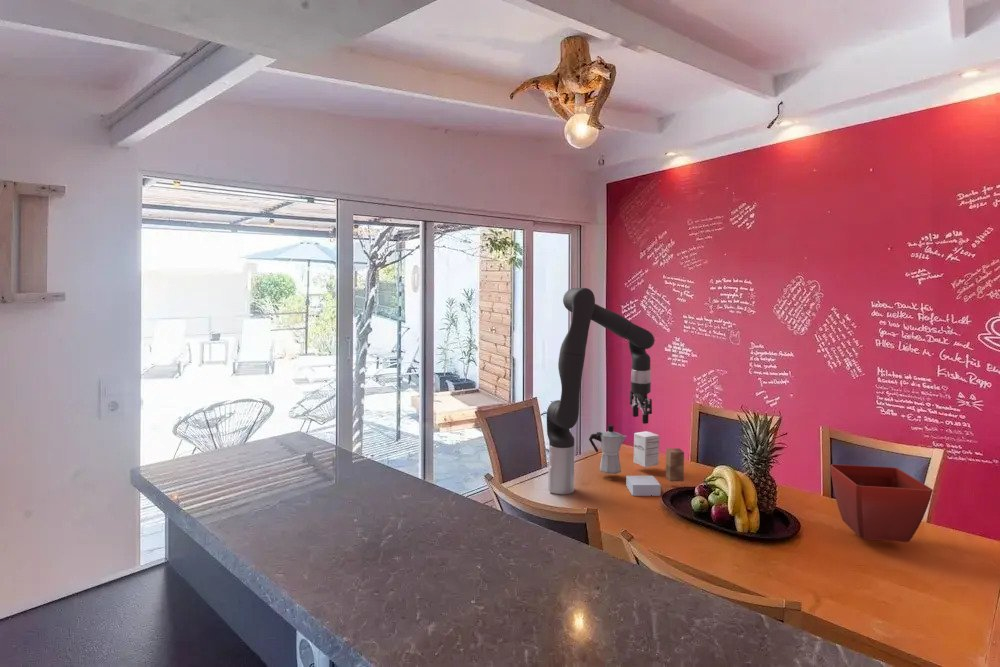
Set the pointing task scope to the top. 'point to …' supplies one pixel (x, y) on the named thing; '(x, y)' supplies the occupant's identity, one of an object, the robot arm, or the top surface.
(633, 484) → the stand
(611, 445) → the coffee maker
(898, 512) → the plant pot
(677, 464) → the walnut block
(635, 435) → the supplement box
